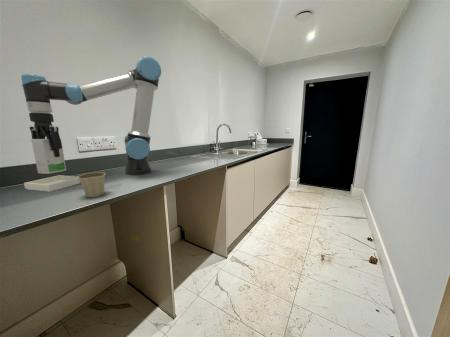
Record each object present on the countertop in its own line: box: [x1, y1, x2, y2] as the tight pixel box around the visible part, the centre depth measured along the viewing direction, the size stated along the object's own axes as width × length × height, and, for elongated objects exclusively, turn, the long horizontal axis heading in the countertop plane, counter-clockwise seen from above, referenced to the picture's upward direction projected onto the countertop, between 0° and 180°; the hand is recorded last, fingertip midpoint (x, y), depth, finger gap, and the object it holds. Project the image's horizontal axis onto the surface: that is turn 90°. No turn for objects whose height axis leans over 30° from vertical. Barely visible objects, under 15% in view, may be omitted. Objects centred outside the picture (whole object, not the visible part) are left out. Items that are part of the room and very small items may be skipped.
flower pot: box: [76, 171, 107, 198], centre depth 74 cm, size 9×9×9 cm
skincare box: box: [30, 138, 67, 175], centre depth 84 cm, size 8×7×16 cm
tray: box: [23, 174, 81, 193], centre depth 87 cm, size 15×15×3 cm
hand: (51, 163), depth 85 cm, fingers closed on skincare box, 6 cm apart
